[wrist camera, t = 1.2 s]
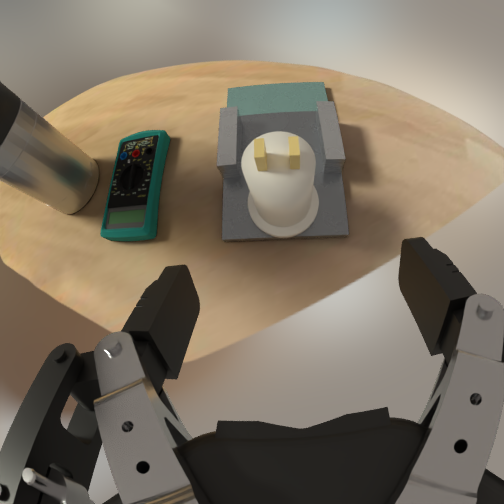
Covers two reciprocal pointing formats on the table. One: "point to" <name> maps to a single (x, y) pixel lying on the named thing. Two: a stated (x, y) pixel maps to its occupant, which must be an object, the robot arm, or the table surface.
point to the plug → (280, 183)
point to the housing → (286, 120)
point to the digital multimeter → (136, 187)
